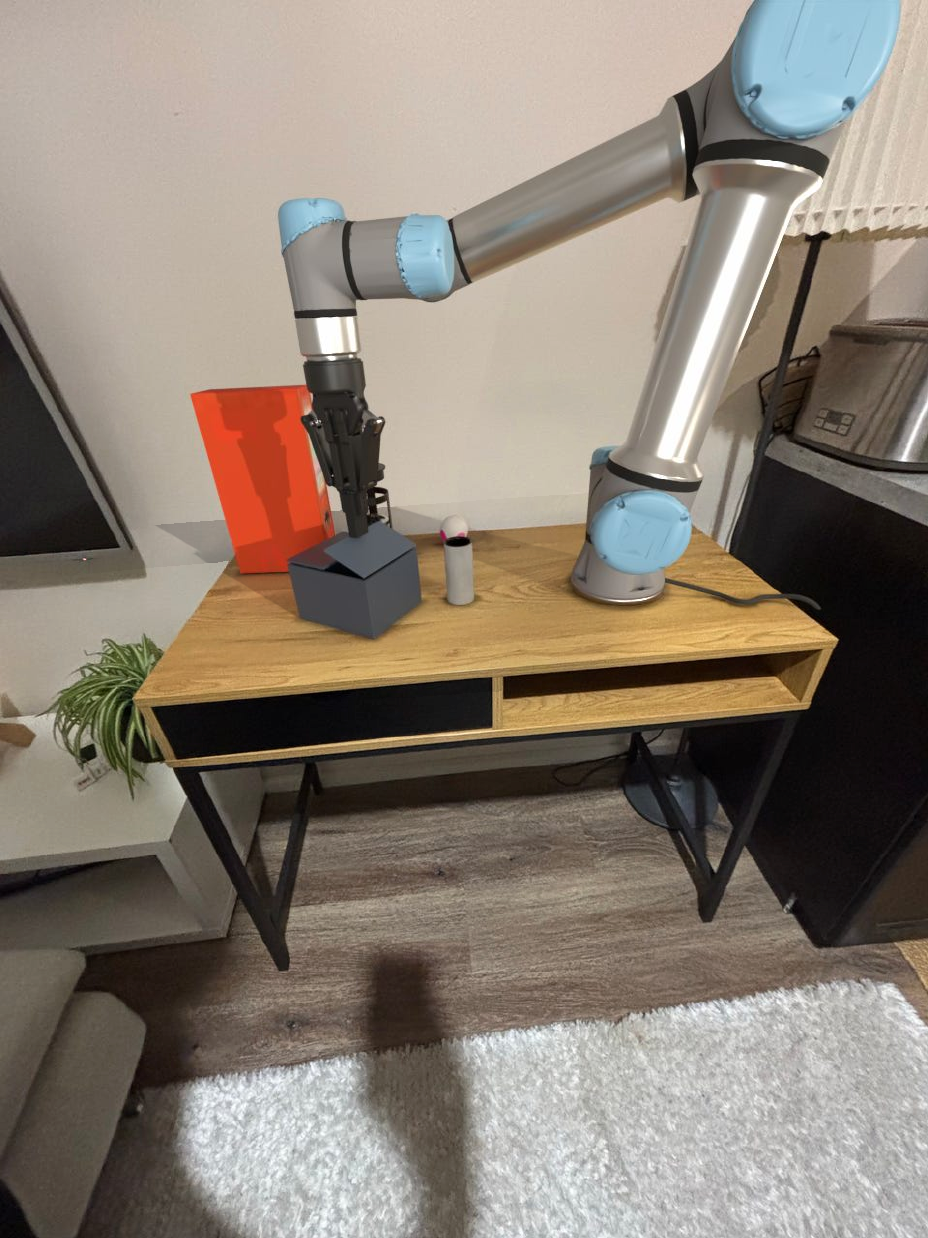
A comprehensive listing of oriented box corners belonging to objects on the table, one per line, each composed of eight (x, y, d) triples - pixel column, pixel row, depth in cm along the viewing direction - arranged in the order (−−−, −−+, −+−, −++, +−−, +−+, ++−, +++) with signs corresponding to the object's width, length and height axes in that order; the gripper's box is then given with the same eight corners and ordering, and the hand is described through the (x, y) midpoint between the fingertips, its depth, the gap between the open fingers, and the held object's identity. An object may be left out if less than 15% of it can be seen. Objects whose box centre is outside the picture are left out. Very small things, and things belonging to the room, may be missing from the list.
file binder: (255, 557, 106) (210, 388, 90) (339, 554, 105) (308, 383, 89) (240, 574, 99) (188, 394, 83) (330, 571, 98) (295, 388, 82)
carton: (421, 601, 86) (416, 543, 81) (374, 639, 76) (364, 576, 71) (352, 585, 92) (342, 531, 87) (299, 618, 83) (285, 559, 78)
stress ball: (444, 551, 112) (425, 529, 109) (473, 529, 111) (454, 505, 108) (448, 564, 106) (428, 540, 103) (479, 540, 104) (459, 515, 101)
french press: (357, 540, 111) (339, 429, 100) (399, 539, 111) (387, 427, 99) (343, 563, 101) (322, 442, 90) (390, 562, 101) (375, 440, 89)
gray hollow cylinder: (471, 606, 84) (469, 547, 78) (444, 604, 85) (440, 546, 79) (476, 593, 87) (474, 536, 82) (450, 592, 88) (447, 535, 83)
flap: (415, 545, 81) (416, 543, 81) (363, 578, 71) (364, 576, 71) (378, 522, 82) (379, 520, 82) (323, 551, 73) (323, 549, 72)
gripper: (391, 354, 65) (409, 532, 77) (314, 355, 70) (342, 520, 82) (353, 359, 59) (378, 550, 71) (272, 360, 65) (308, 536, 77)
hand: (359, 534), depth 77 cm, fingers closed
